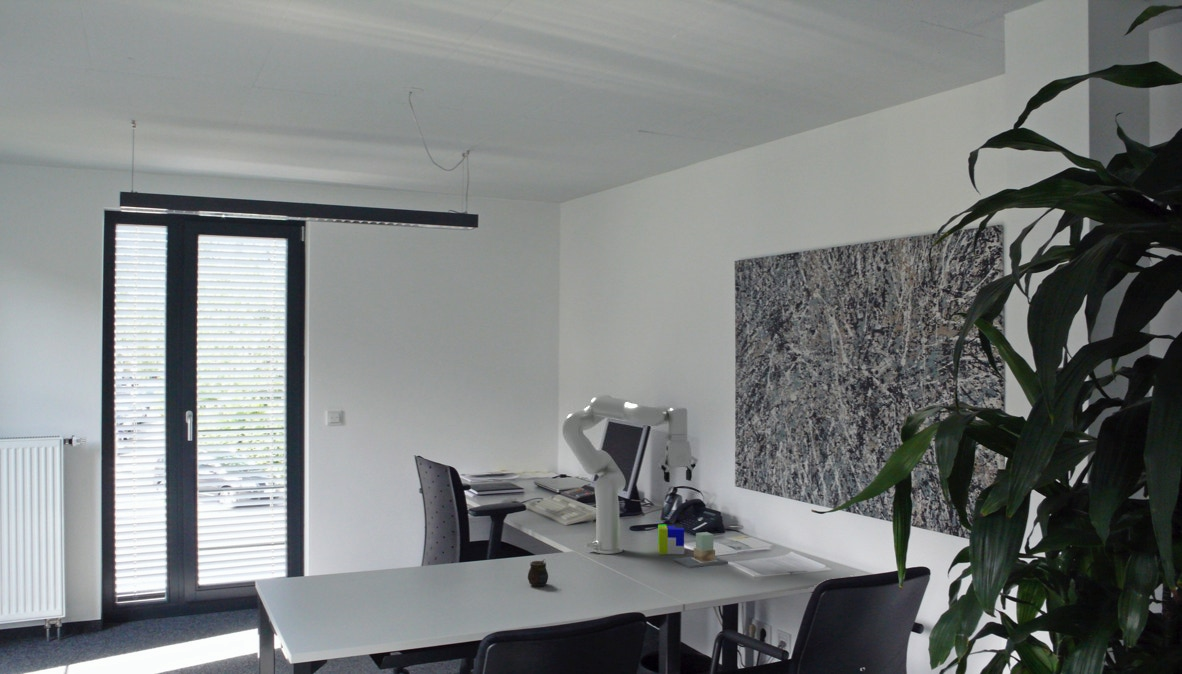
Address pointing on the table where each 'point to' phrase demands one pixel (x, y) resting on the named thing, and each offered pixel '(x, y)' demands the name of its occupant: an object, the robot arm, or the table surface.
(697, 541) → the sage block
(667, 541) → the puzzle toy
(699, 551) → the oak base block
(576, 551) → the table surface
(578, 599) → the table surface
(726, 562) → the felt mat
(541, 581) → the mate gourd
